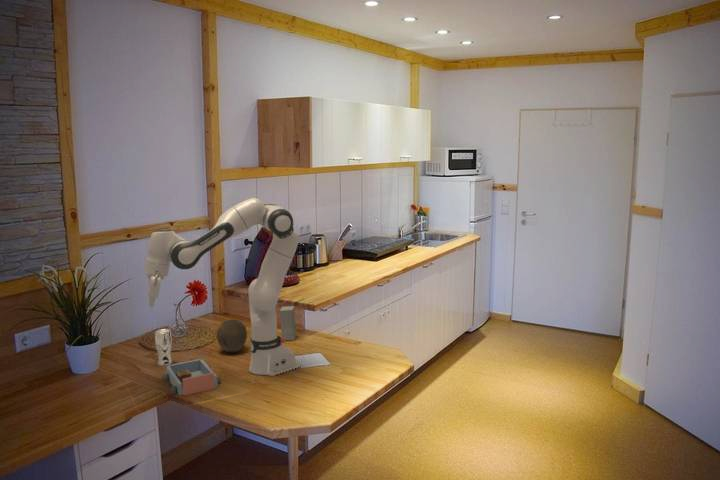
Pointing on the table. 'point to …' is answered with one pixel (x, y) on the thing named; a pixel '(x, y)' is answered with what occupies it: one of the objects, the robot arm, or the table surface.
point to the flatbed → (194, 367)
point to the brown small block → (183, 375)
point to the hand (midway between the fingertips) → (151, 304)
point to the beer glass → (163, 346)
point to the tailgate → (198, 384)
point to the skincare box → (288, 323)
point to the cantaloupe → (232, 335)
